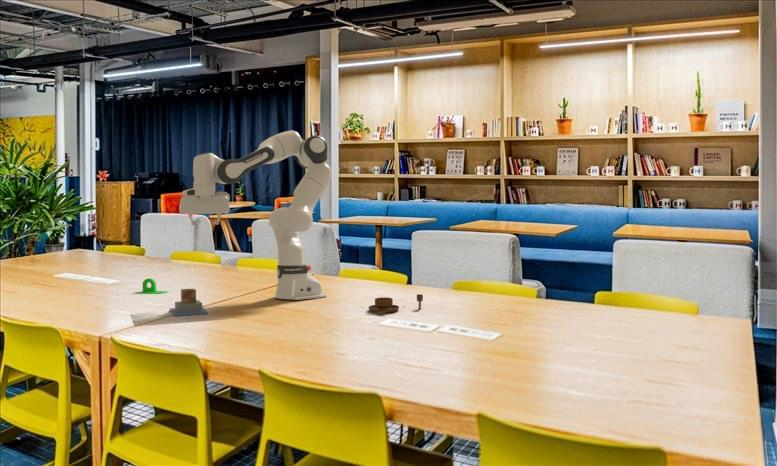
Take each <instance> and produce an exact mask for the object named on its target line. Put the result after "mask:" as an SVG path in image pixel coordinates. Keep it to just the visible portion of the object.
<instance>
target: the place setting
mask: <svg viewBox="0 0 777 466" xmlns="http://www.w3.org/2000/svg"><path fill="white" fill-rule="evenodd" d="M423 299H424V295H423V294H421V293H420V294H419V293H417V294H416V301H417V302H418V308H417V309H418V310H422V309H423V308H422V302H423ZM404 307H406V306H403V308H404ZM399 308H400V306H399V305H395V304H393V298H391V297H376V298H374V304H372V305H369V306H368V310H369V311H370V312H368V311H367V312H365V314H370V313H371V314H373V313H375V314H376V313H378V314H388V313H389V314H390V313H395V312H397V311H398V310H399Z"/></svg>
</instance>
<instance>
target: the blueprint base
mask: <svg viewBox="0 0 777 466" xmlns="http://www.w3.org/2000/svg"><path fill="white" fill-rule="evenodd" d="M169 311H170V312H171V314H172V315H173V316H174V317H187V316H200V315H201V316H203V315H209V312H208V310H207V309H205V308H204V307H203V302H201V300H198V299H196V303H187V304H183V303H182V302H181V300H180V301H179V300H177V301H174V307H171V308H170V309H169Z"/></svg>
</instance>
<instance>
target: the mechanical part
mask: <svg viewBox="0 0 777 466" xmlns="http://www.w3.org/2000/svg"><path fill="white" fill-rule="evenodd" d="M149 283H150V287H149V286H148V284H149ZM168 292H170V291H169V290H168V291H167V290H166V291H163V290H161V291H160V290H157V282H156V280H155V279H154V278H151V277H149V278H146V279H144V280H143V282H142V291H139V292H138V294H139V295H140V294H141V295H143V294H144V295H145V294H146V295H147V294H148V295H152V294H155V295H157V294H159V295H160V294H168Z"/></svg>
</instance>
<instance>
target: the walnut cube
mask: <svg viewBox="0 0 777 466" xmlns="http://www.w3.org/2000/svg"><path fill="white" fill-rule="evenodd" d="M196 300H197V289H196V288H180V301H181V302H182V303H183V304H187V303H196Z"/></svg>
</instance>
